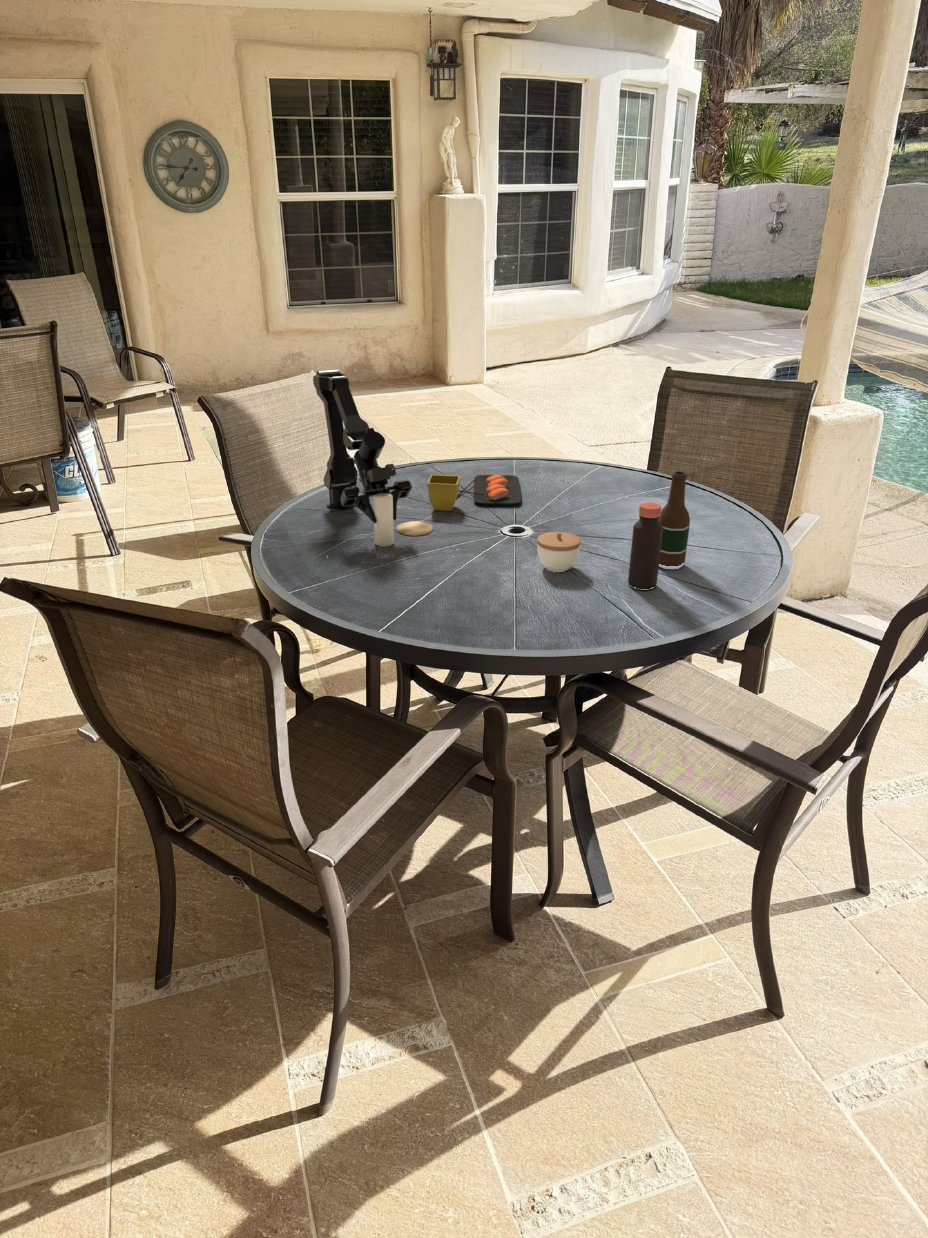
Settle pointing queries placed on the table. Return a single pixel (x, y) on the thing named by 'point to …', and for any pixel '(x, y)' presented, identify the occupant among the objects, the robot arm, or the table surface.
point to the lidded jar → (558, 550)
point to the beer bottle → (675, 523)
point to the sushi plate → (495, 489)
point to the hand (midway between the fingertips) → (385, 521)
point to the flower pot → (443, 491)
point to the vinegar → (646, 547)
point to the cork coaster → (414, 528)
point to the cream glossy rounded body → (383, 519)
